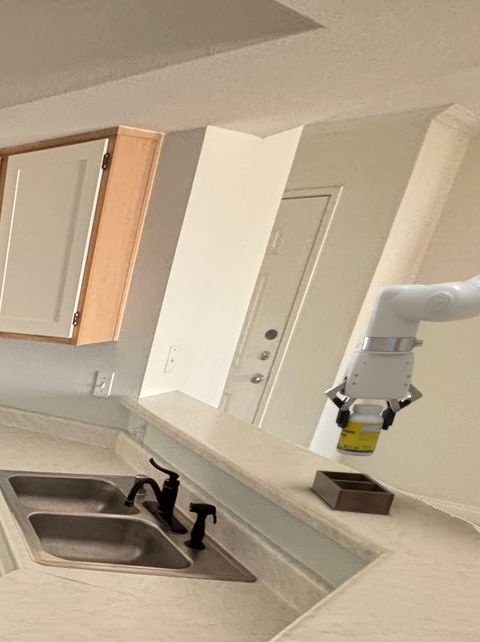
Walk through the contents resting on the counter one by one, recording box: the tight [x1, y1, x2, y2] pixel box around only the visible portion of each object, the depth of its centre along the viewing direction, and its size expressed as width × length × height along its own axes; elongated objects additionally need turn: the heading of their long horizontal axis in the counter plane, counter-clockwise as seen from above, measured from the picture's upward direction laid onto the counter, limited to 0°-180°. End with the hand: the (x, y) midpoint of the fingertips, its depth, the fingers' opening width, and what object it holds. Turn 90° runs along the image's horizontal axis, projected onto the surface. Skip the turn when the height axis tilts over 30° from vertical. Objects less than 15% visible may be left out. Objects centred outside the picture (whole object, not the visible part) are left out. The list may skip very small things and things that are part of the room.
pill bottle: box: [335, 403, 384, 457], centre depth 132 cm, size 6×6×11 cm
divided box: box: [311, 469, 396, 515], centre depth 133 cm, size 9×17×5 cm, turn 151°
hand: (361, 427), depth 131 cm, fingers closed on pill bottle, 6 cm apart
